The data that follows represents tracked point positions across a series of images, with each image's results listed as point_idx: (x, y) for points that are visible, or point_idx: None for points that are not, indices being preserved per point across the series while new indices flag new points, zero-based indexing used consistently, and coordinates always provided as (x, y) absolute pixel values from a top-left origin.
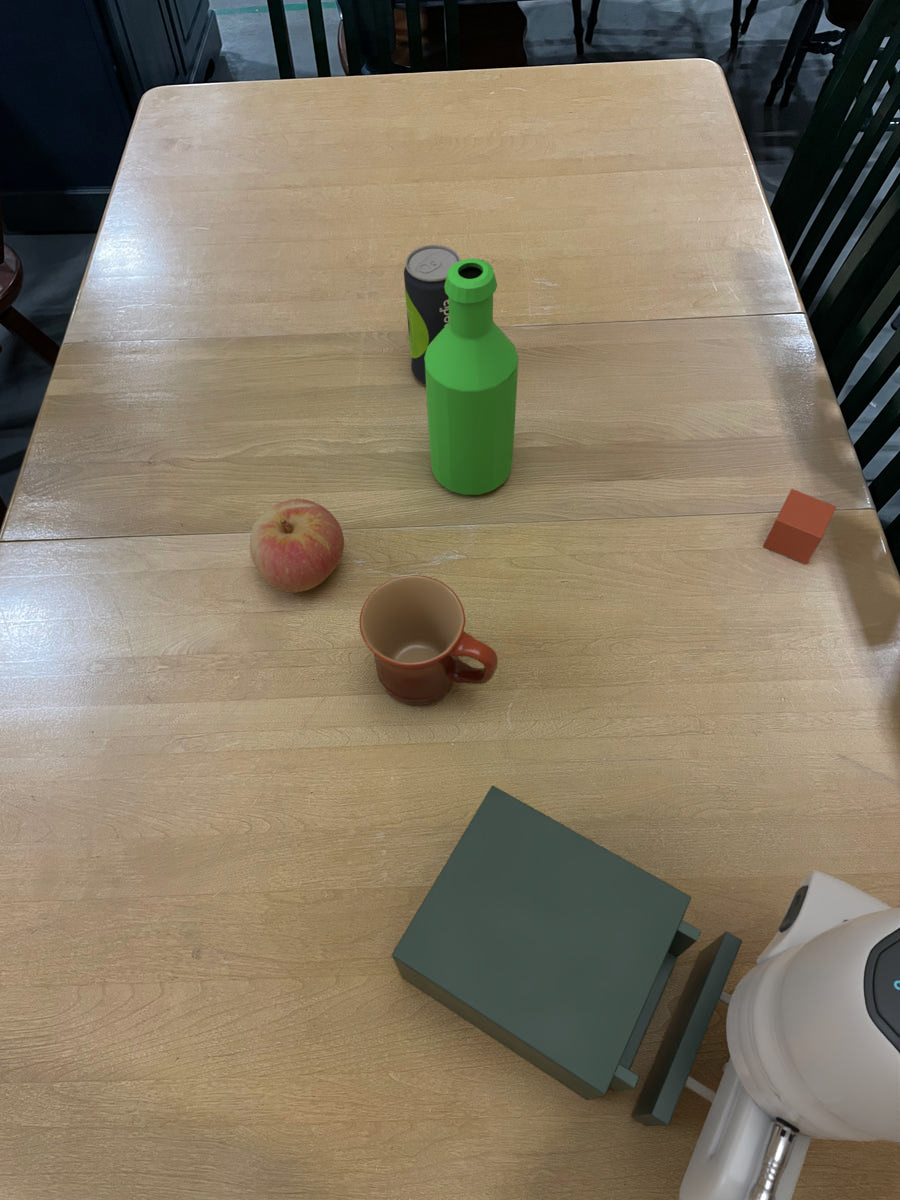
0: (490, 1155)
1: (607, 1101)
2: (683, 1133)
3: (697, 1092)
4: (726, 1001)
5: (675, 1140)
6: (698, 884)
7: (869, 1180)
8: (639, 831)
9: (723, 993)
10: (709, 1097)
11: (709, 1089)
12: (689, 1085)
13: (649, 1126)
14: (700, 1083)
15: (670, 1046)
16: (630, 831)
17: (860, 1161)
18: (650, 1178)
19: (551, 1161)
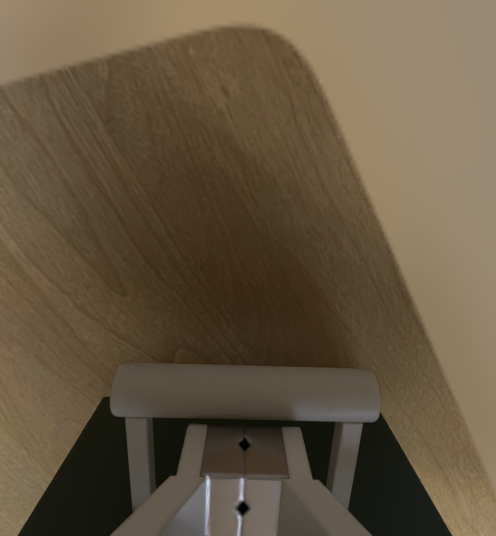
0: (465, 515)
1: None
2: (353, 343)
3: (352, 482)
4: (148, 489)
5: (366, 349)
6: (18, 431)
7: (289, 51)
8: (7, 516)
9: (136, 501)
10: (352, 463)
11: (337, 469)
12: (347, 498)
13: (386, 422)
14: (334, 485)
15: None
16: (16, 524)
17: (268, 76)
18: (423, 361)
19: (448, 463)
